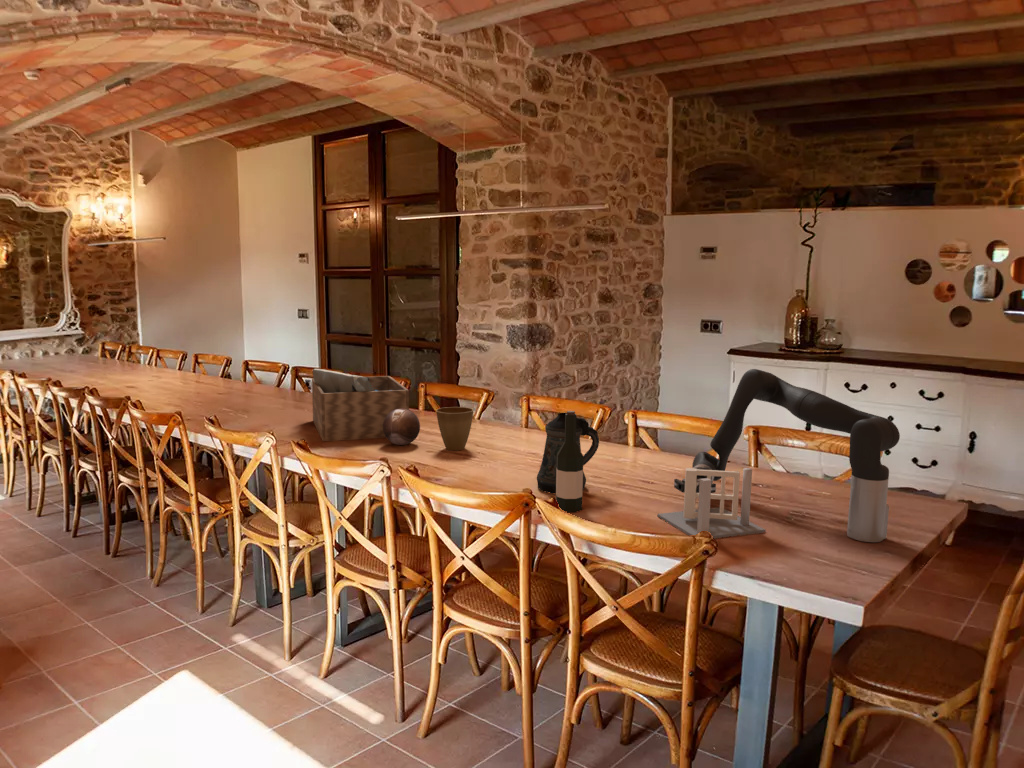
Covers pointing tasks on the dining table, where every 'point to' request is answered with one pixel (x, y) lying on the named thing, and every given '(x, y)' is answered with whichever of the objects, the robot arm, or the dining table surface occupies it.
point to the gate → (692, 495)
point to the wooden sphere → (401, 426)
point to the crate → (357, 410)
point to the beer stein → (554, 443)
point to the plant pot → (455, 426)
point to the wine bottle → (569, 469)
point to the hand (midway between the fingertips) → (689, 493)
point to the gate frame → (713, 525)
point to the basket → (341, 382)
